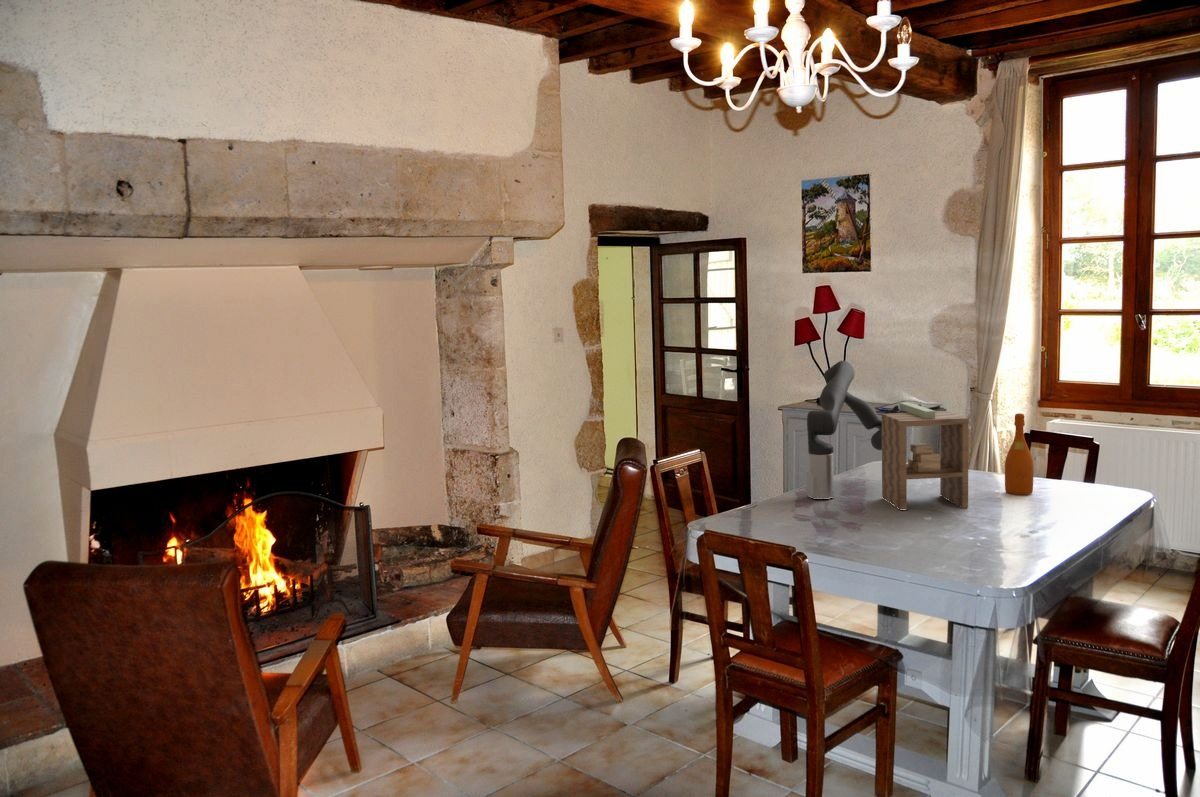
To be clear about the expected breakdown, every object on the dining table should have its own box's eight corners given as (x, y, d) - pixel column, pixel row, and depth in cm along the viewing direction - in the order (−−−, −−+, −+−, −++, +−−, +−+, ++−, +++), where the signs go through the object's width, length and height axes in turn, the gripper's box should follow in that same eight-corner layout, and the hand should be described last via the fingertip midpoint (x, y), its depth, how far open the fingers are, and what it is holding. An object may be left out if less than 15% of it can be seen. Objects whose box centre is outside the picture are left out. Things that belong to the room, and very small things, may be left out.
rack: (882, 498, 355) (881, 413, 351) (945, 495, 355) (945, 411, 352) (901, 511, 335) (900, 421, 331) (968, 507, 336) (968, 418, 332)
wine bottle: (998, 492, 358) (999, 413, 354) (1017, 489, 362) (1018, 411, 358) (1020, 497, 349) (1021, 416, 345) (1039, 493, 353) (1040, 413, 349)
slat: (899, 409, 361) (899, 402, 361) (908, 408, 361) (908, 402, 361) (925, 418, 335) (925, 411, 335) (935, 417, 336) (935, 410, 335)
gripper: (876, 415, 372) (888, 398, 357) (912, 413, 373) (925, 397, 358) (879, 433, 369) (892, 417, 354) (915, 431, 370) (929, 415, 355)
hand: (909, 407), depth 356 cm, fingers open, 8 cm apart
